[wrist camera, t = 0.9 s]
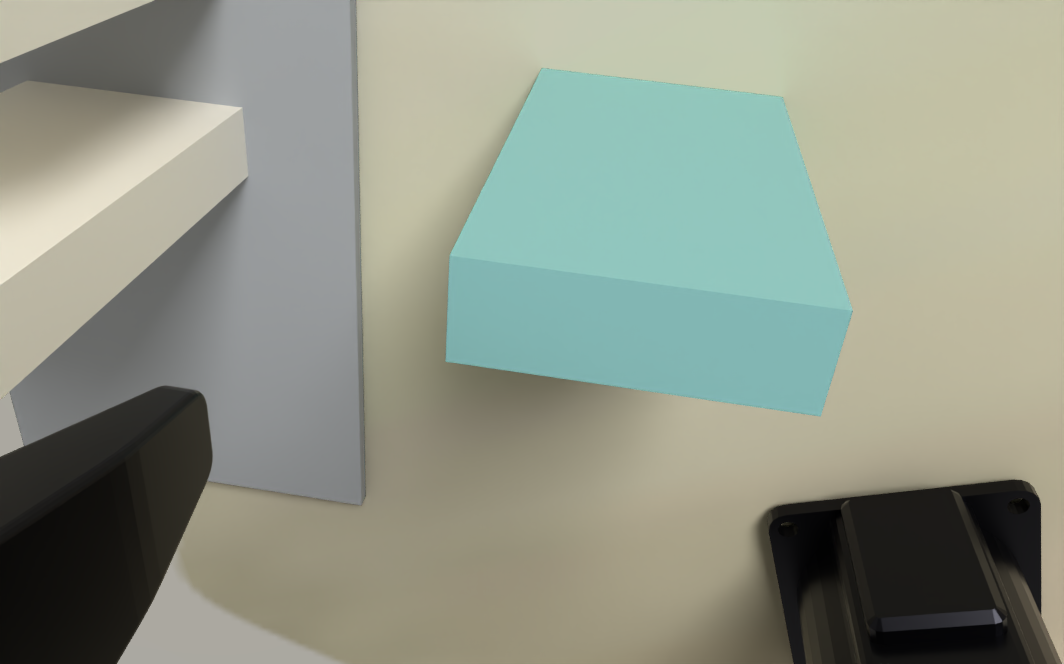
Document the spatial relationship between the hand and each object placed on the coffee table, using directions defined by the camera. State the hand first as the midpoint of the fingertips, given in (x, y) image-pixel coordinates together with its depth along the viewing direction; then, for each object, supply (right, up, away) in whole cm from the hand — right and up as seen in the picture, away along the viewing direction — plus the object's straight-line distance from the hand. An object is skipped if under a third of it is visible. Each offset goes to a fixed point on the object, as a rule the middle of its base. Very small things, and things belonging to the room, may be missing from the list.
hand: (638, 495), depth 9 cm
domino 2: (+2, +6, +10) cm, 12 cm away
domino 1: (-10, +6, +12) cm, 16 cm away
